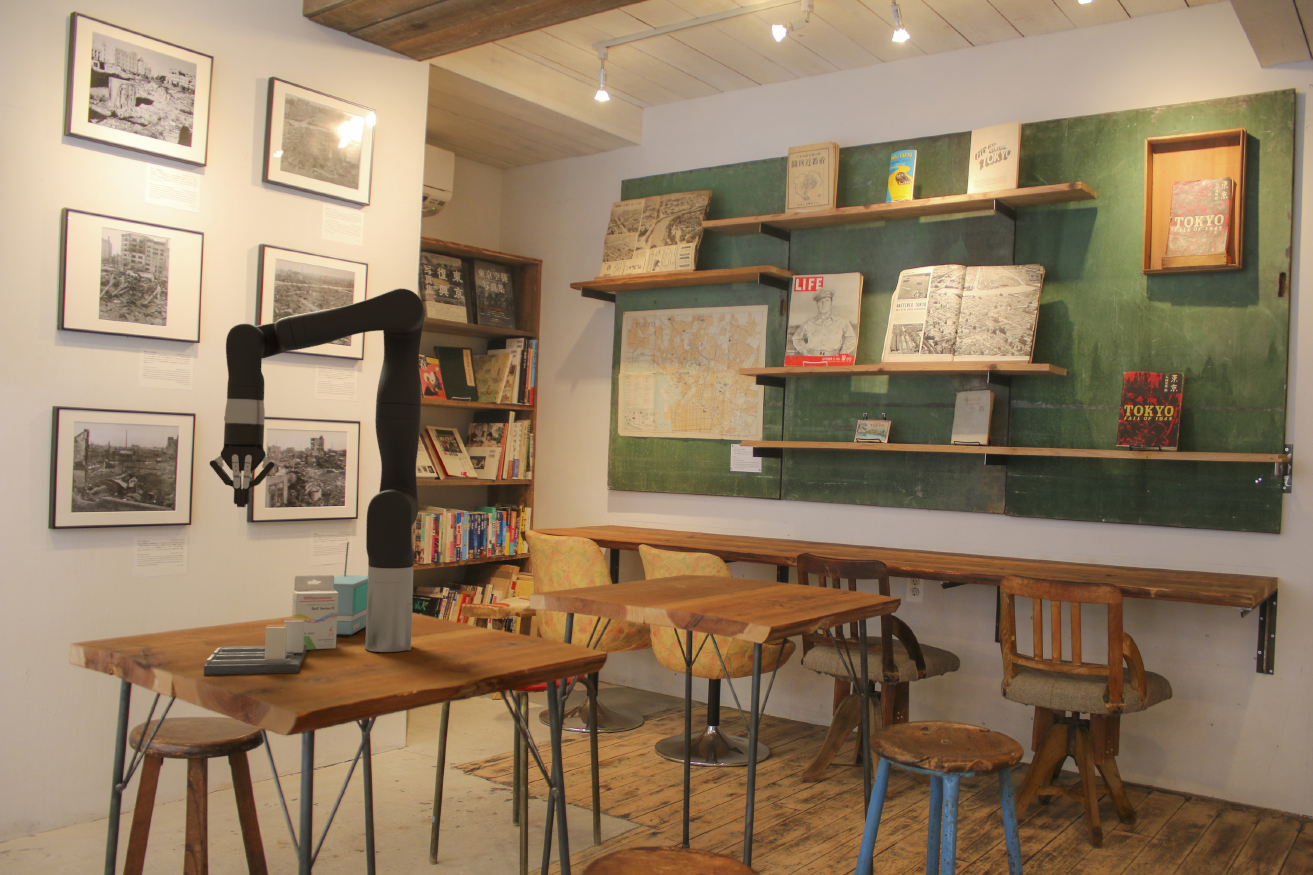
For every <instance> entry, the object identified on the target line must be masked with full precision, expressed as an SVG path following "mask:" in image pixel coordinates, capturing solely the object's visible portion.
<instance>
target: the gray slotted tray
mask: <svg viewBox="0 0 1313 875" xmlns="http://www.w3.org/2000/svg"><path fill="white" fill-rule="evenodd" d="M306 654H307V650H306V645H303V651H302V653H294V652H286V658H285V659H265V645H236V646H235V645H231V646H229V645H224V646H220V647H219V646H218V647H217V648H216V649H215V650H214V652H213V653H212V654H211V655H210V656H209V657H208V658H207V659H206V663H205V664H204V666H203V676H209V675H211V676H213V675H216V676H218V675H253V674H254V675H255V674H256V675H259V674H260V675H262V674H297V673H299V671H300V668H301V666H302V664H303V662H304V659H305V656H306Z"/></svg>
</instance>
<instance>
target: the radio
mask: <svg viewBox="0 0 1313 875" xmlns="http://www.w3.org/2000/svg"><path fill="white" fill-rule="evenodd" d="M349 545H350V541H347V542H346V550H345V563H344V574H341V575H338V576H334V588H333V589H334V590H335V591H337V592H338V615H337V633H336V637H346V638H347V637H352V636H353V634H355V633H356V632H358V631H360V630H362V629H366V612H367V587H368V575H352V574H350V575H349V574H347V569H348V567H347V566H348V554H349ZM318 584H321V581H319V583H318Z"/></svg>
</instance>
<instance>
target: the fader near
mask: <svg viewBox="0 0 1313 875" xmlns="http://www.w3.org/2000/svg"><path fill="white" fill-rule="evenodd" d="M264 635H265V638H264V639H265V641H264V646H265V659H285V658H286V649H287V625H284V624H267V625H266V626H265V634H264Z"/></svg>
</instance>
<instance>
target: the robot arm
mask: <svg viewBox="0 0 1313 875" xmlns="http://www.w3.org/2000/svg"><path fill="white" fill-rule="evenodd" d="M425 316H426V313H425V307H424V304H423V300H422V299H421V298H420V297H419V296H418V294H417V293H415V291H412V290H410V289H408V288H403V287H402V288H399V287H398V288H394V289H392V290H389V291H387V292H384V293H382V294H379V295H376V296H374V297H370V298H368V299H364V300H362V301H359V302H355V303H352V304H348V305H343V306H339V307H333V308H327V309H322V310H316V311H310V312H305V313H298V314H294V315H290V316H285V317H282V318H279V319H278V320H277V321H276V322H275V321H274V322H270V323H265V324H260V325H254V324H251V323H247V322H246V323H245V322H242V323H238V324H236V325H234V326H233V327H231V328H230V329H229V331H228V333H227V335H226V338H225V339H226V340H225V355H226V366H227V374H228V376H227V387H226V388H227V390H226V391H227V392H226V404H225V410H224V417H223V418H224V426H223V427H224V433H223V447H222V450H221V451H220V455H219V456H217V457H216V458H215V459H213V460H212V459H211V460H210V461H209V466H210V467H211V468H212V470H214V472H215V474H217V476H218V478H219V479H220V480H222V482H223V483H224V485H226V486H230V487H232V488H233V503H234V505H236V507H237V508H246V507H247V505H249V503H250V501H251V500H250V497H251V494H250V493H251V489H252V488H253V487H256V486H259V485H260V484H261V483H262V482H263V481H264V480H265V479H266V477H267V476H268V475H269V474H270V473H271V471H272V470H274V469H275V467H276V465H277V464H276V462H275V461H272V460H271V459H269V458H268V457H266V456H267V454H266V451H265V448H264V444H265V443H264V442H265V441H264V440H265V439H264V438H265V414H266V413H265V412H266V411H265V402H264V401H265V378H264V375H263V373H262V372H263V371H262V363H263V361H262V359H267V358H269V357H272V356H276V355H280V354H284V353H285V352H289V351H290V352H291V351H299V350H302V349H308V348H312V347H317V346H321V345H327V344H329V343H333V342H335V341H338V340H341V339H344V338H348V337H351V336H355V335H358V334H363V333H370V332H378V331H381V332H382V331H383V332H382V333H383V361H382V366H381V371H380V375H379V379H378V384H377V391H376V401H375V417H374V418H375V419H374V420H375V434H376V441H377V446H378V450H379V451H378V452H379V456H380V463H381V464H380V466H381V471H380V472H381V473H380V474H381V475H380V484H379V491H378V493H377V494H375V495H374V496H373V497H372V498H371V500H370V502H369V504H368V506H367V511H366V529H365V530H366V532H365V534H366V538H365V539H366V540H365V542H366V546H365V548H366V555H367V558H368V559H367V560H368V564H367V565H368V567H367V576H368V587H367V612H366V628H365V639H364V642H365V644H364V646H365V647H364V648H365V650H366V651H370V652H378V653H395V652H396V653H397V652H404V651H411V650H412V633H413V632H412V630H413V628H412V627H413V608H414V607H413V595H414V594H413V593H414V592H413V589H414V588H413V586H414V567H415V566H414V565H415V562H414V560H415V556H414V555H415V554H414V551H413V548H412V531H413V530H412V528H413V525H414V524H415V522H416V520H417V518H418V515H419V498H418V488H417V487H418V486H417V461H418V460H417V459H418V451H419V442H420V430H421V429H420V427H421V417H422V415H421V412H422V410H421V409H422V392H421V390H422V388H421V374H420V372H421V371H420V349H421V348H420V346H421V339H422V335H423V334H422V332H423V327H424V323H425ZM261 463H262V465H261ZM224 464H226V466H227V467H228V468H229V469H230V471H232V477H233V479H232V478H231V476H229V475H228V473H227V472H226V471H225V469H224V468H223V467H224V466H225V465H224ZM260 465H261V467H262V470H261V471H260V472H259V473H258V474H257V476H255V478H254V479H253V480H252V478H253V472H254V471H255V470H256V469H257V468H258V467H259V466H260ZM242 473H243V474H242ZM242 475H243V480H242Z"/></svg>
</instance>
